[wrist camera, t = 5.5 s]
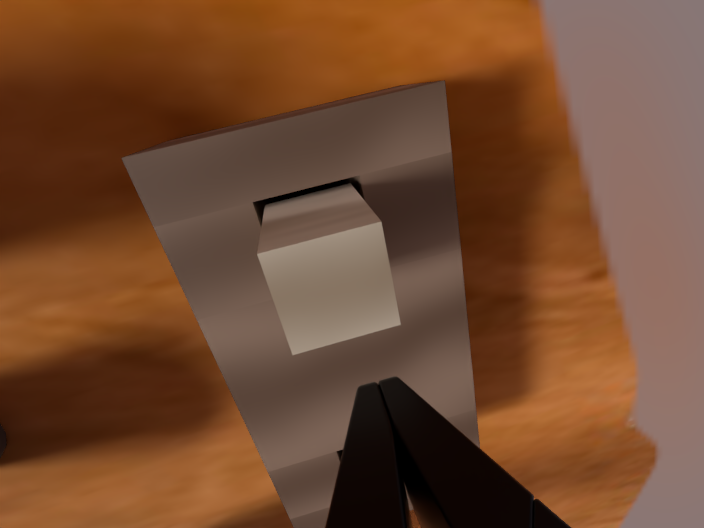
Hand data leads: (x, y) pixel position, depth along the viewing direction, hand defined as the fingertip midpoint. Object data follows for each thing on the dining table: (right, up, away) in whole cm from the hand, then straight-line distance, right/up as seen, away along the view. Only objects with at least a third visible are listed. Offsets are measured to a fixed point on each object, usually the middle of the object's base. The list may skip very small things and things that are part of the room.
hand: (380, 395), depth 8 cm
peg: (-2, +4, +6) cm, 7 cm away
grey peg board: (-1, 0, +12) cm, 12 cm away
